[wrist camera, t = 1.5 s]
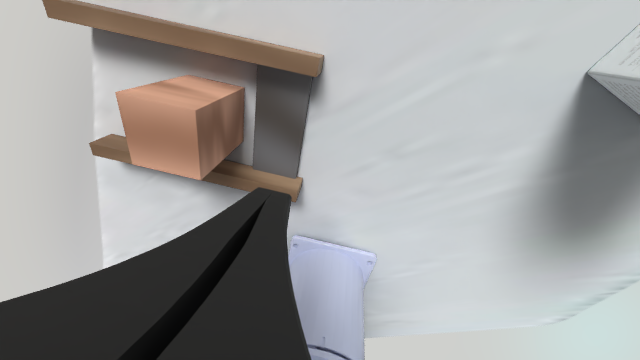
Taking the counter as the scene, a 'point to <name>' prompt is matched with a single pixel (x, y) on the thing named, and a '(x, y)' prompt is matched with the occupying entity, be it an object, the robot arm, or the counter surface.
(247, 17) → the counter surface
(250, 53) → the walnut channel
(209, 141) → the terracotta block
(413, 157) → the counter surface
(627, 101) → the skincare box
